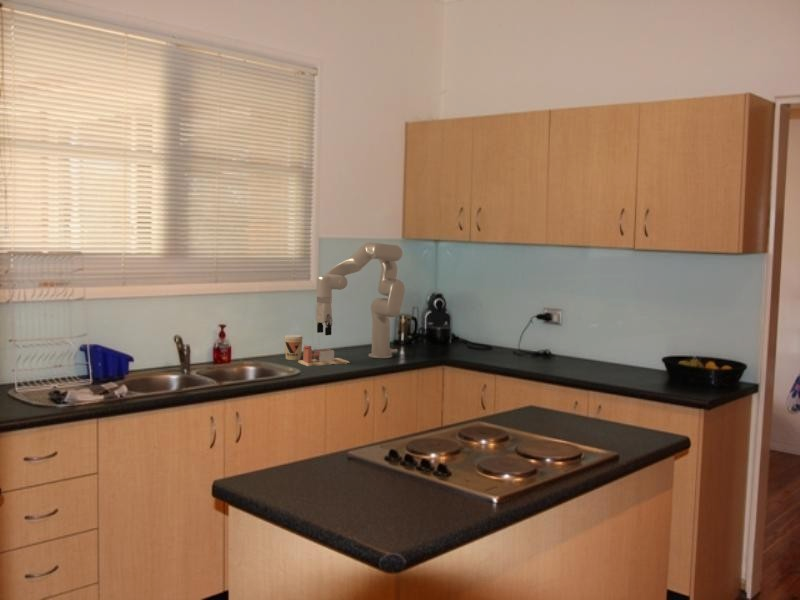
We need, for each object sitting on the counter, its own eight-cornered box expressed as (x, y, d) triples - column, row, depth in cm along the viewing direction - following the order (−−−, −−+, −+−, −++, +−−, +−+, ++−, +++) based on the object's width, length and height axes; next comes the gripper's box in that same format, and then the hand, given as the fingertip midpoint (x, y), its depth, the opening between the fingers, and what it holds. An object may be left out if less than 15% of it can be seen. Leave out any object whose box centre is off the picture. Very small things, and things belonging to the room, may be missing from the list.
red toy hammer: (327, 359, 425) (327, 344, 424) (332, 361, 420) (332, 345, 419) (301, 361, 418) (301, 345, 417) (306, 363, 413) (306, 347, 412)
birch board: (339, 359, 432) (339, 357, 432) (349, 363, 422) (349, 361, 421) (298, 362, 420) (298, 360, 420) (307, 366, 410) (307, 364, 410)
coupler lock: (328, 359, 426) (328, 349, 425) (334, 361, 420) (334, 350, 420) (314, 360, 422) (314, 349, 421) (319, 362, 416) (319, 351, 416)
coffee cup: (282, 360, 426) (283, 336, 425) (285, 357, 436) (286, 334, 435) (300, 360, 426) (301, 337, 425) (303, 357, 435) (304, 334, 434)
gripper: (310, 298, 423) (310, 332, 425) (324, 302, 408) (324, 336, 410) (323, 298, 427) (323, 331, 429) (338, 301, 412) (338, 335, 414)
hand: (324, 333), depth 420 cm, fingers open, 9 cm apart
